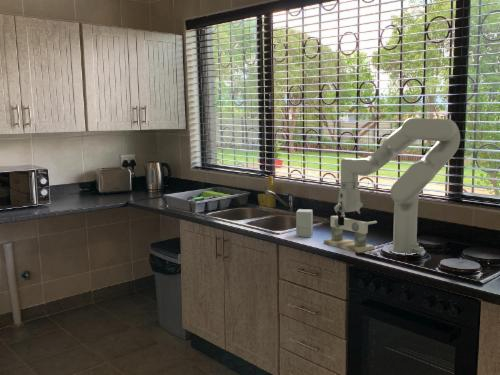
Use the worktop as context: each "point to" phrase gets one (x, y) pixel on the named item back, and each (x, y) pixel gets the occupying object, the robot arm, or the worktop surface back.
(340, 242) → the display stand
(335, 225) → the glasses
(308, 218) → the supplement box
